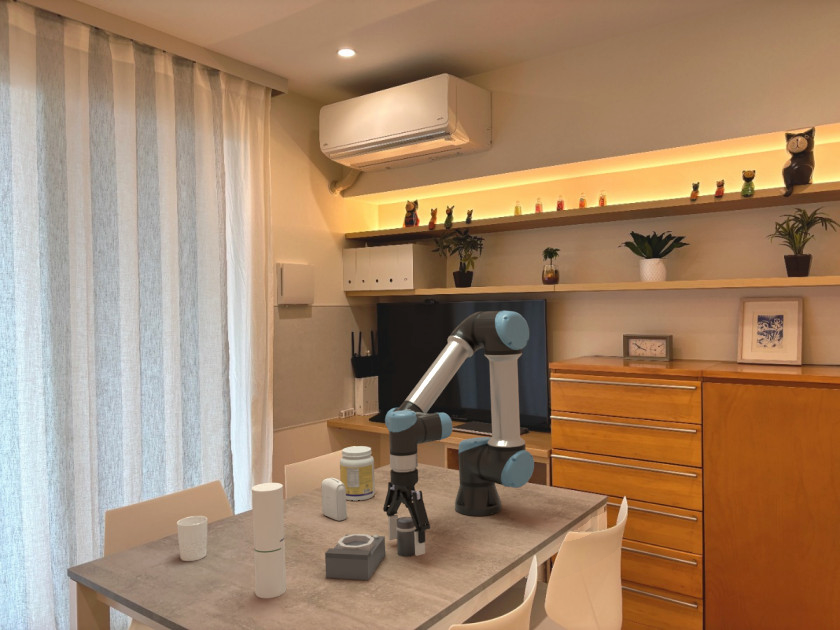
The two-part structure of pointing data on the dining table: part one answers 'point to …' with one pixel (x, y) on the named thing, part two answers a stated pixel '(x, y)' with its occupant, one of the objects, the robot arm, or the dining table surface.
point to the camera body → (355, 557)
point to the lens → (405, 536)
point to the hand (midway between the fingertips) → (406, 546)
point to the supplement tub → (357, 472)
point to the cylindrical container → (269, 540)
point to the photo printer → (334, 499)
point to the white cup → (192, 537)
